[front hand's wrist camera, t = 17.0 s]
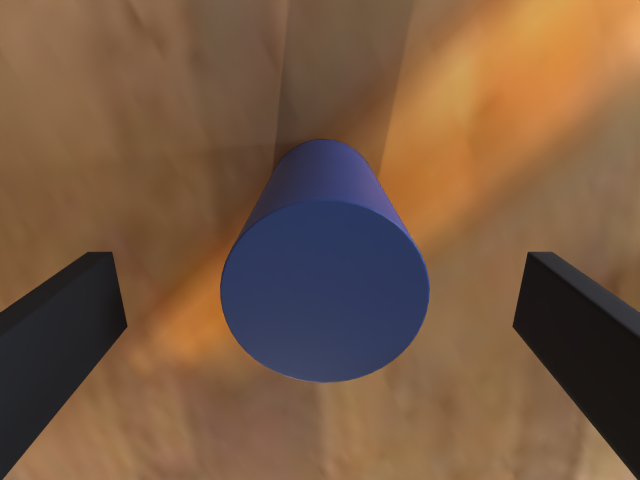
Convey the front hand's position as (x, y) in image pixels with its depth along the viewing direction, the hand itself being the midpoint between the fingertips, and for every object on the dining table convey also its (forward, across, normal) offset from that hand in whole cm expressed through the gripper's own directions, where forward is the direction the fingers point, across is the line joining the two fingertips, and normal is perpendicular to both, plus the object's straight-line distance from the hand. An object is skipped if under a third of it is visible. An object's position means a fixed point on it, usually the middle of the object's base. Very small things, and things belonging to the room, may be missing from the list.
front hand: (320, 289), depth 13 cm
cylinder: (+11, 0, 0) cm, 11 cm away
